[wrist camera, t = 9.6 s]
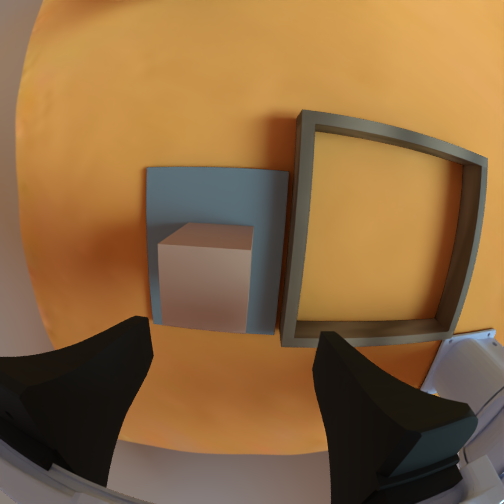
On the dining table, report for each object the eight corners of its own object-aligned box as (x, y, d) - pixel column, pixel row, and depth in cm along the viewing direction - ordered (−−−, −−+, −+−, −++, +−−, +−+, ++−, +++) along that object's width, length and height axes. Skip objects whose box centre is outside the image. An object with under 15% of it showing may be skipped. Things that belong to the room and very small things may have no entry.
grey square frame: (469, 158, 16) (487, 158, 14) (438, 325, 21) (451, 338, 18) (296, 118, 17) (302, 109, 14) (279, 328, 21) (281, 346, 18)
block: (253, 226, 18) (251, 250, 12) (249, 287, 19) (245, 333, 14) (188, 222, 18) (157, 243, 12) (188, 282, 19) (162, 324, 14)
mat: (288, 171, 18) (288, 171, 17) (273, 330, 21) (274, 334, 20) (150, 167, 18) (147, 167, 17) (155, 320, 21) (153, 323, 20)
